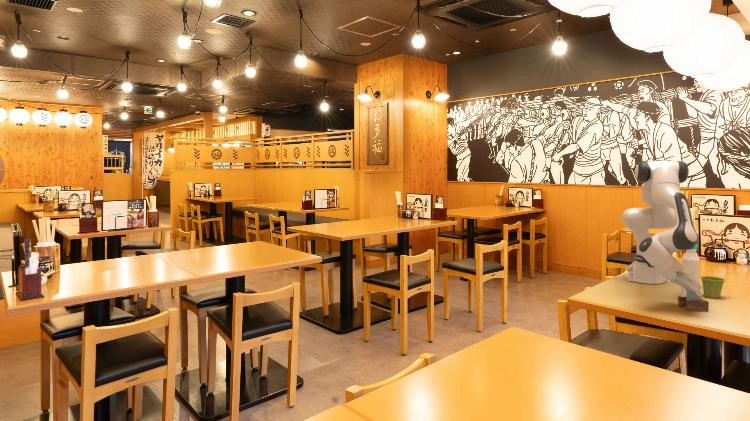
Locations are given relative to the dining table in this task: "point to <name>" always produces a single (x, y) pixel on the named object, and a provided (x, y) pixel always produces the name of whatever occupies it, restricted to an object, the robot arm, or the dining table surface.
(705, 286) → the plant pot
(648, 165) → the robot arm
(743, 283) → the dining table surface
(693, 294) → the grey tall block
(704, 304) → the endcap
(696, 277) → the water bottle
